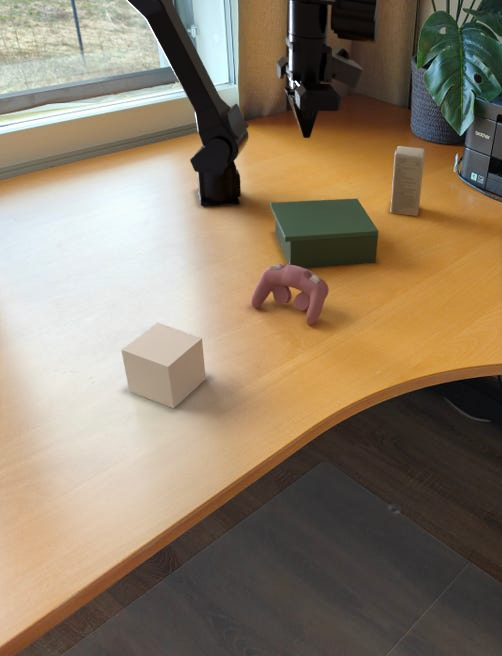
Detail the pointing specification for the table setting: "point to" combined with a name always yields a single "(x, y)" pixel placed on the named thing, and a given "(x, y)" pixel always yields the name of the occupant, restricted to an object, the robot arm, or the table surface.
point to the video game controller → (295, 277)
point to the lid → (322, 219)
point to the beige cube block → (164, 364)
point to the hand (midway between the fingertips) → (306, 137)
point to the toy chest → (329, 251)
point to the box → (407, 180)
